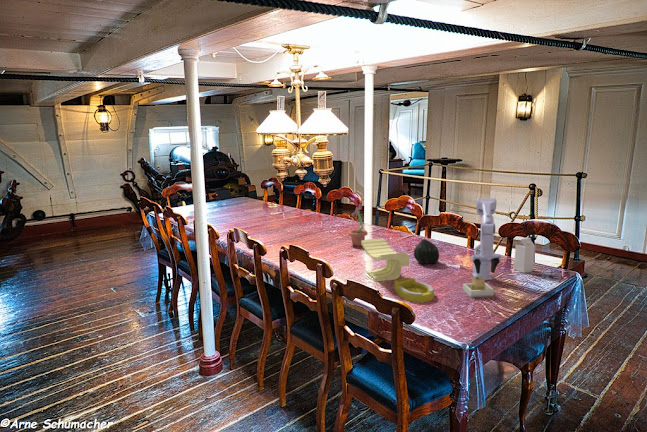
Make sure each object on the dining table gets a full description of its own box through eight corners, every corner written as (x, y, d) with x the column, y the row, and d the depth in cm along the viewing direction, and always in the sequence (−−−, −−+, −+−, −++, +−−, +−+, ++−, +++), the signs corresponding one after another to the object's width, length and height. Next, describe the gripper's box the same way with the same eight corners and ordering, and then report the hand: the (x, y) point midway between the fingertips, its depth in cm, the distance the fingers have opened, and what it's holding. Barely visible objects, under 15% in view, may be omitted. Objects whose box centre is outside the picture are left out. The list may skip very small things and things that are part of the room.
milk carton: (513, 269, 240) (516, 237, 236) (523, 267, 242) (525, 236, 238) (523, 273, 233) (526, 240, 229) (533, 271, 236) (535, 239, 232)
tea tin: (471, 289, 209) (472, 276, 208) (480, 289, 210) (480, 276, 208) (475, 293, 205) (476, 279, 203) (484, 292, 205) (485, 279, 204)
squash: (440, 259, 244) (438, 236, 251) (414, 259, 247) (413, 236, 254) (438, 268, 256) (437, 246, 263) (414, 268, 259) (413, 246, 266)
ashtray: (413, 284, 221) (413, 276, 220) (441, 298, 203) (441, 288, 202) (388, 291, 214) (388, 281, 213) (415, 305, 196) (415, 295, 195)
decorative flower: (353, 240, 308) (352, 201, 301) (370, 242, 302) (370, 202, 295) (345, 246, 295) (344, 204, 288) (363, 248, 289) (363, 205, 282)
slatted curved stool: (408, 283, 222) (409, 251, 218) (381, 287, 218) (381, 255, 214) (386, 266, 250) (386, 237, 247) (361, 269, 246) (361, 240, 243)
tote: (462, 290, 212) (463, 283, 211) (484, 289, 212) (485, 282, 212) (470, 297, 202) (471, 291, 201) (493, 296, 203) (494, 289, 202)
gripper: (476, 250, 202) (474, 276, 205) (504, 248, 203) (502, 274, 206) (470, 245, 209) (468, 271, 212) (498, 244, 210) (496, 269, 213)
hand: (485, 272), depth 209 cm, fingers open, 7 cm apart
